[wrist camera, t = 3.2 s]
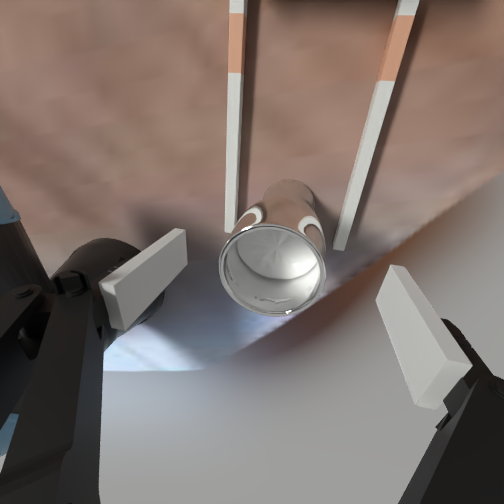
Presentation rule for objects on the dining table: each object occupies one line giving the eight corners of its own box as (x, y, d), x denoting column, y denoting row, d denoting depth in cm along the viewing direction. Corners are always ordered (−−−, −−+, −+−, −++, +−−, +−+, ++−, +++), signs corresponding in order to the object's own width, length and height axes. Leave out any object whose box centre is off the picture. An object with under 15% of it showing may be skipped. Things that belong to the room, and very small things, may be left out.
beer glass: (266, 167, 26) (224, 204, 13) (328, 184, 25) (351, 242, 12) (252, 224, 29) (207, 300, 16) (306, 240, 28) (305, 332, 15)
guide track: (342, 246, 28) (349, 267, 23) (227, 228, 30) (213, 245, 26) (437, -76, 16) (486, -154, 12) (235, -68, 18) (213, -131, 14)
